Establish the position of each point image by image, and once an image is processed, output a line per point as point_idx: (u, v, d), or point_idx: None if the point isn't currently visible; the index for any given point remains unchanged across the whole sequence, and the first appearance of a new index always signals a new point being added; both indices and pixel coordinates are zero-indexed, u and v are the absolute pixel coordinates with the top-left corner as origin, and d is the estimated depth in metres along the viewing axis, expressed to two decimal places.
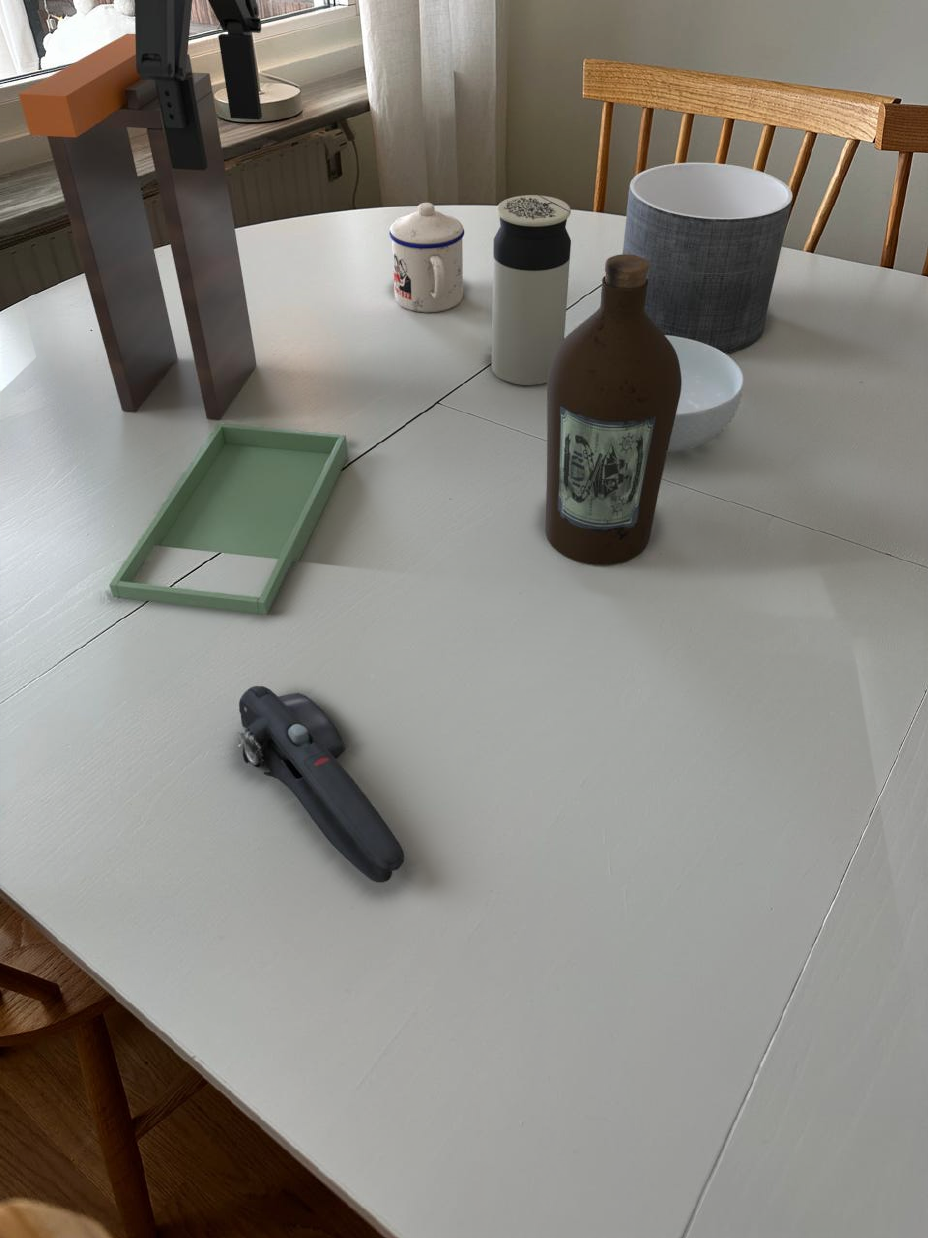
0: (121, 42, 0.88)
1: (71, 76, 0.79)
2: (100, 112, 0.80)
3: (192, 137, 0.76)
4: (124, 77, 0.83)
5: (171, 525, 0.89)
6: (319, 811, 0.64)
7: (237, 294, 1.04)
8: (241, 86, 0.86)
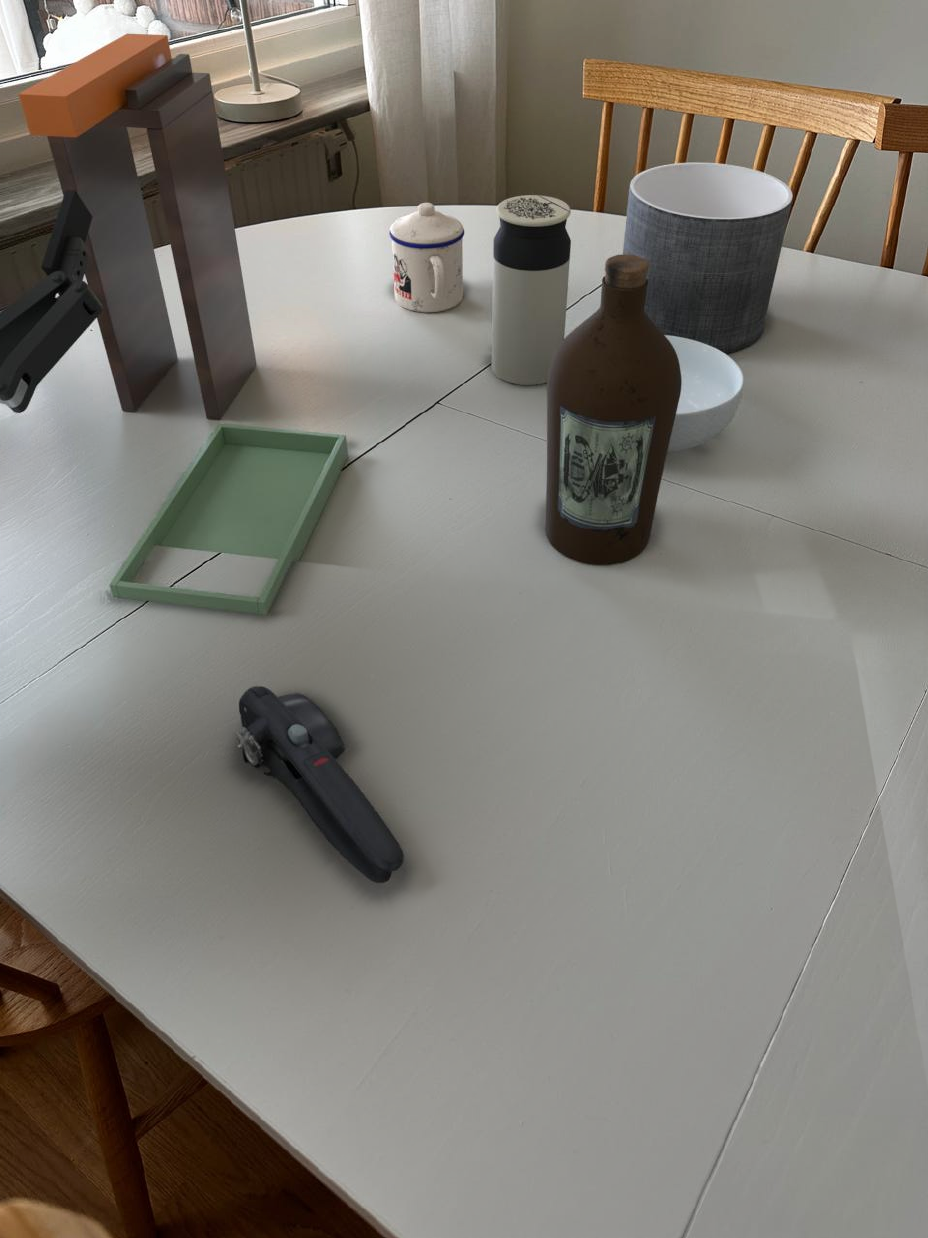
0: (121, 42, 0.88)
1: (71, 76, 0.79)
2: (100, 112, 0.80)
3: None
4: (124, 77, 0.83)
5: (171, 525, 0.89)
6: (319, 811, 0.64)
7: (237, 294, 1.04)
8: None
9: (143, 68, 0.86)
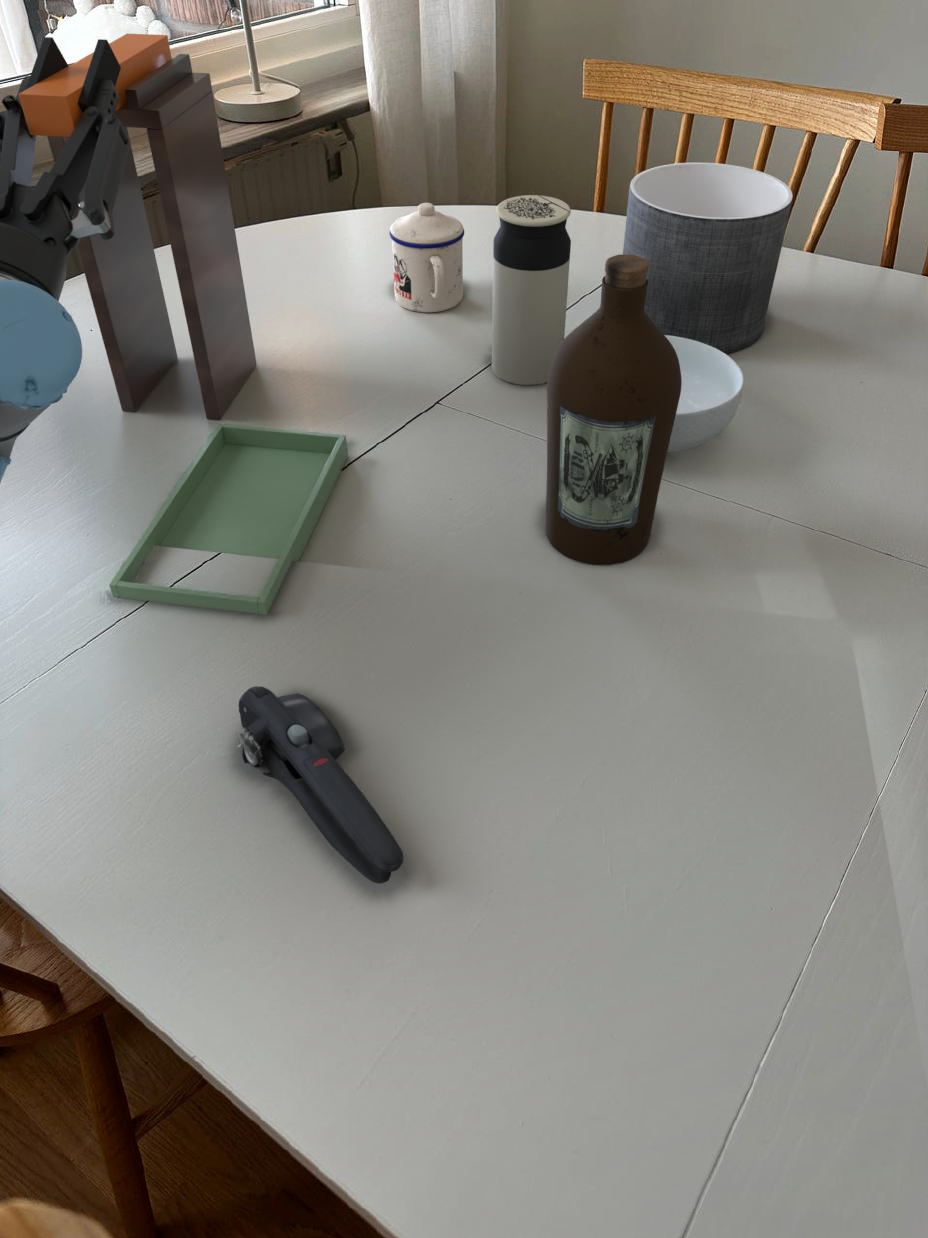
0: (121, 42, 0.88)
1: (71, 76, 0.79)
2: None
3: None
4: (124, 77, 0.83)
5: (171, 525, 0.89)
6: (318, 812, 0.64)
7: (237, 294, 1.04)
8: None
9: (143, 68, 0.86)
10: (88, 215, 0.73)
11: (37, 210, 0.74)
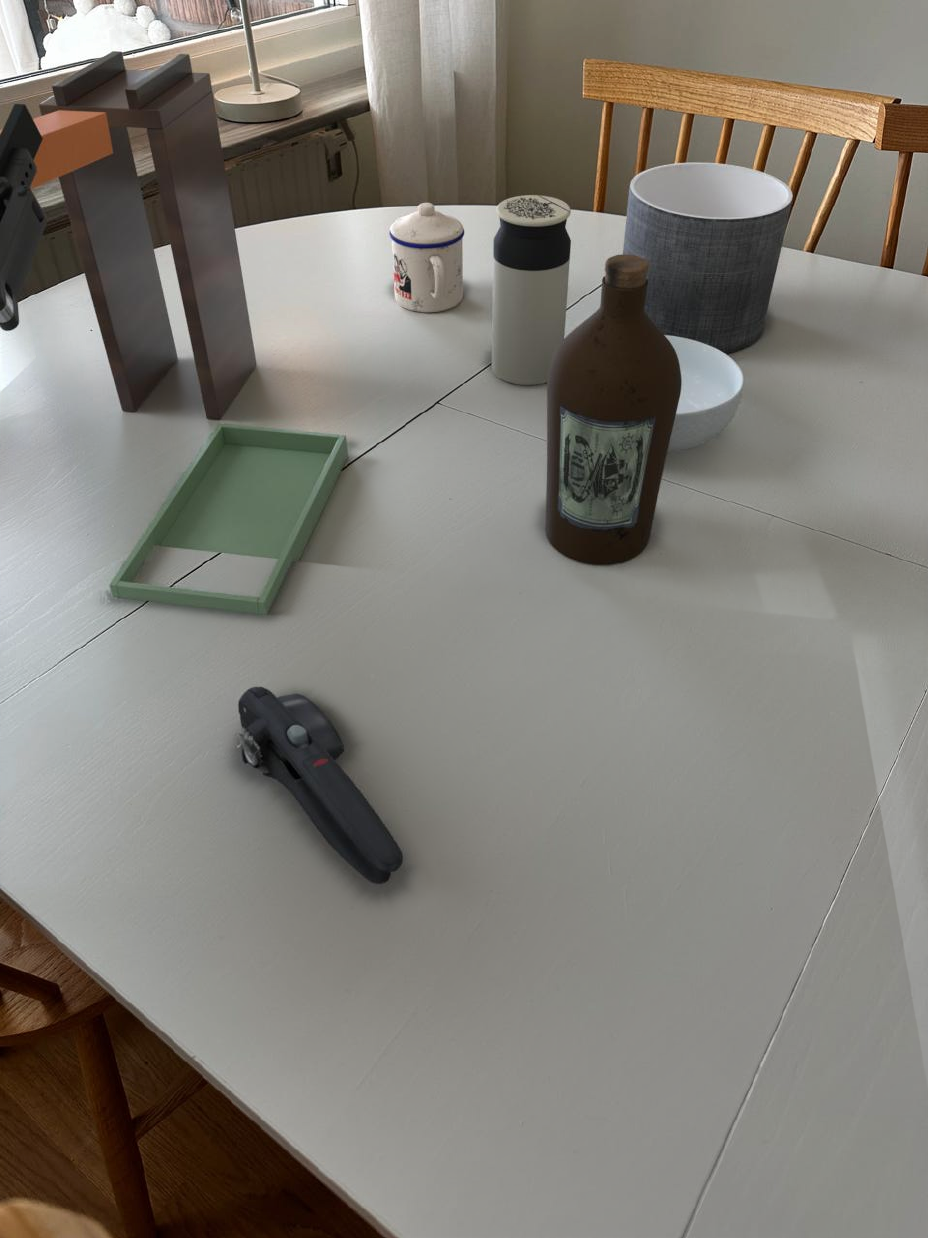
0: (50, 117, 0.76)
1: None
2: None
3: None
4: (48, 151, 0.71)
5: (171, 525, 0.89)
6: (318, 812, 0.63)
7: (237, 294, 1.04)
8: None
9: (73, 145, 0.74)
10: None
11: None
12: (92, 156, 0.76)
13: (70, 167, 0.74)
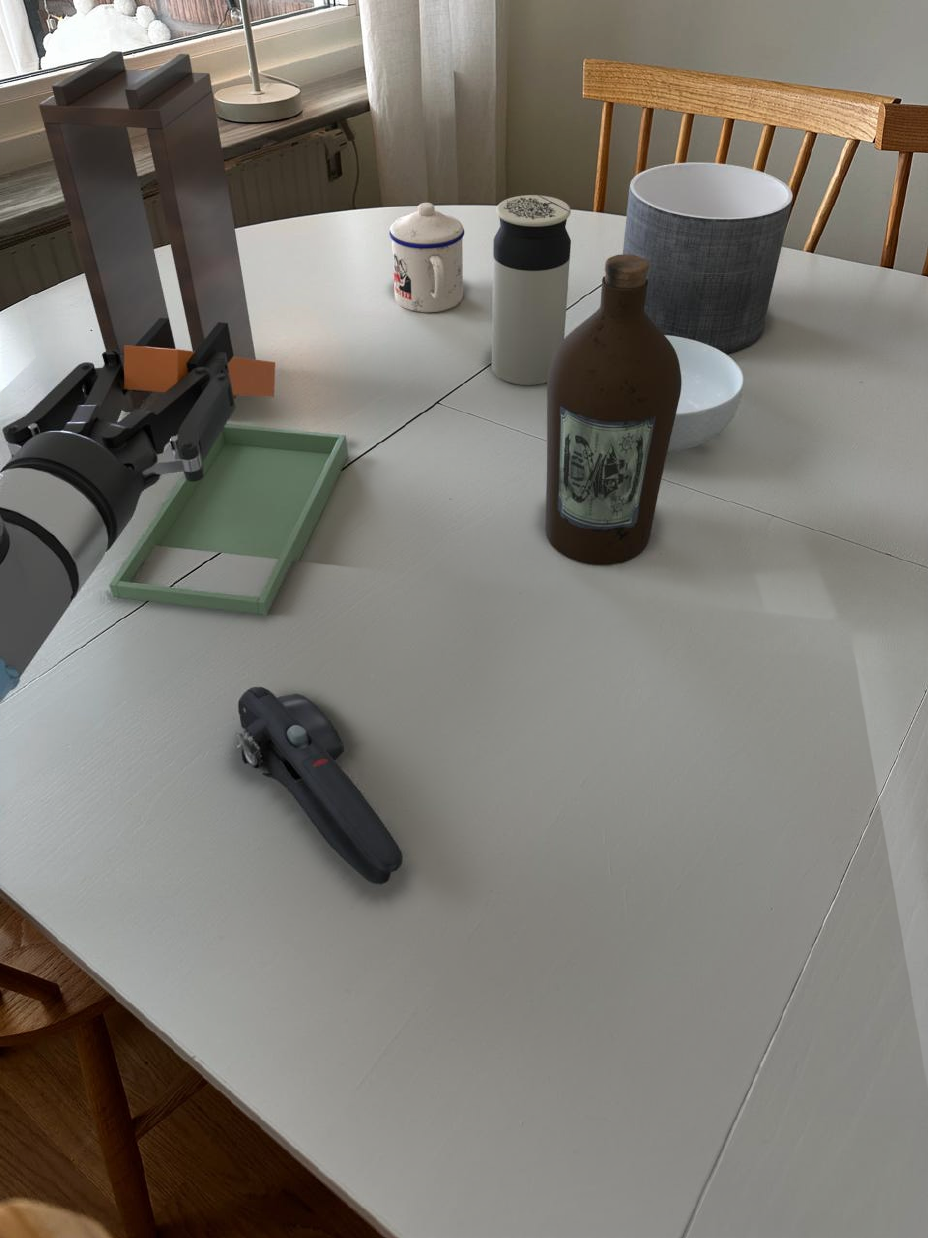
0: None
1: None
2: None
3: None
4: (232, 370, 0.78)
5: (171, 525, 0.89)
6: (318, 812, 0.63)
7: (237, 294, 1.04)
8: None
9: (249, 375, 0.81)
10: (180, 447, 0.61)
11: (120, 438, 0.62)
12: (259, 391, 0.84)
13: (244, 391, 0.81)
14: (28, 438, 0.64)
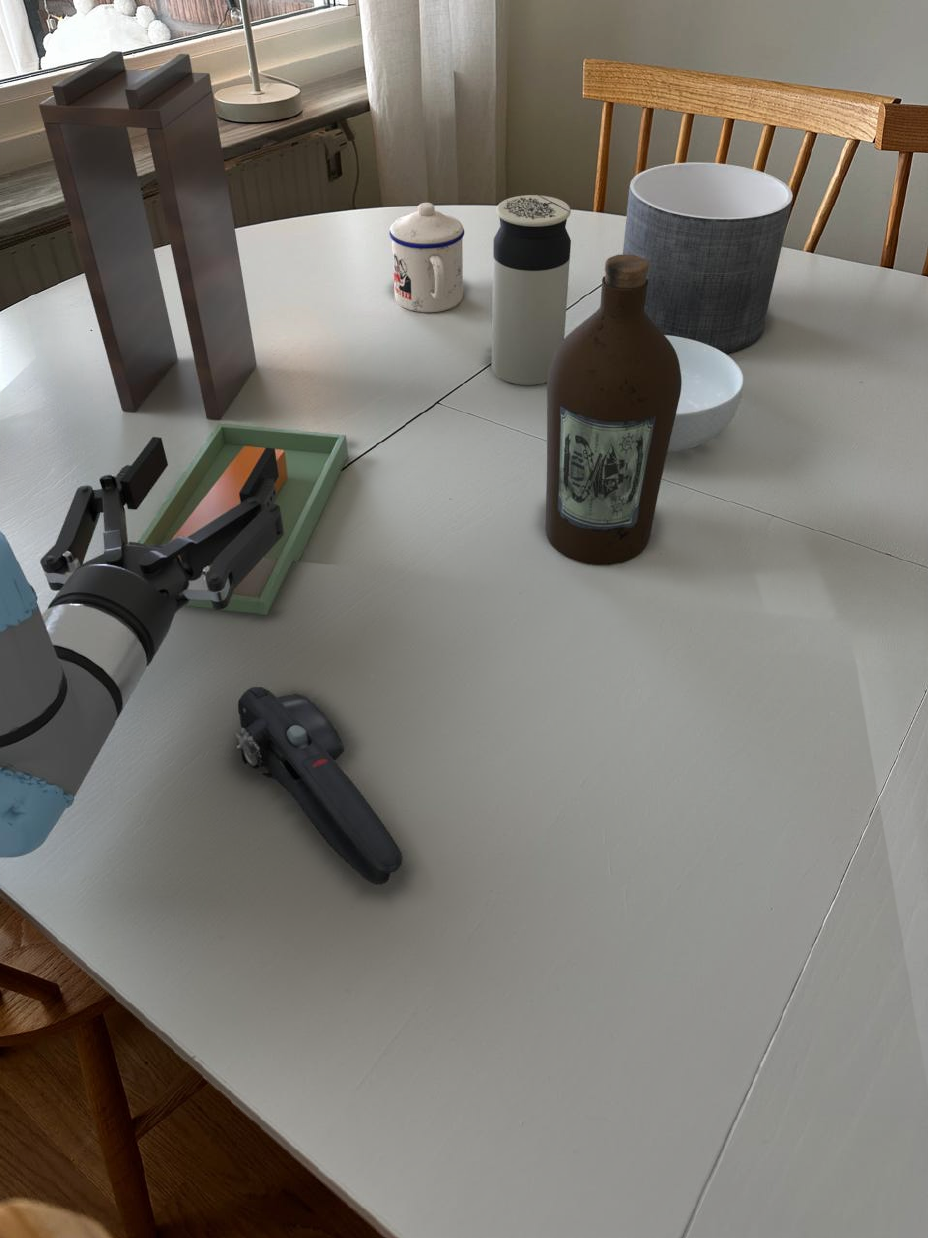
0: (242, 462, 0.90)
1: (203, 526, 0.81)
2: None
3: None
4: None
5: (171, 525, 0.89)
6: (317, 812, 0.63)
7: (237, 294, 1.04)
8: None
9: None
10: (207, 580, 0.68)
11: (154, 566, 0.69)
12: None
13: None
14: (64, 565, 0.70)
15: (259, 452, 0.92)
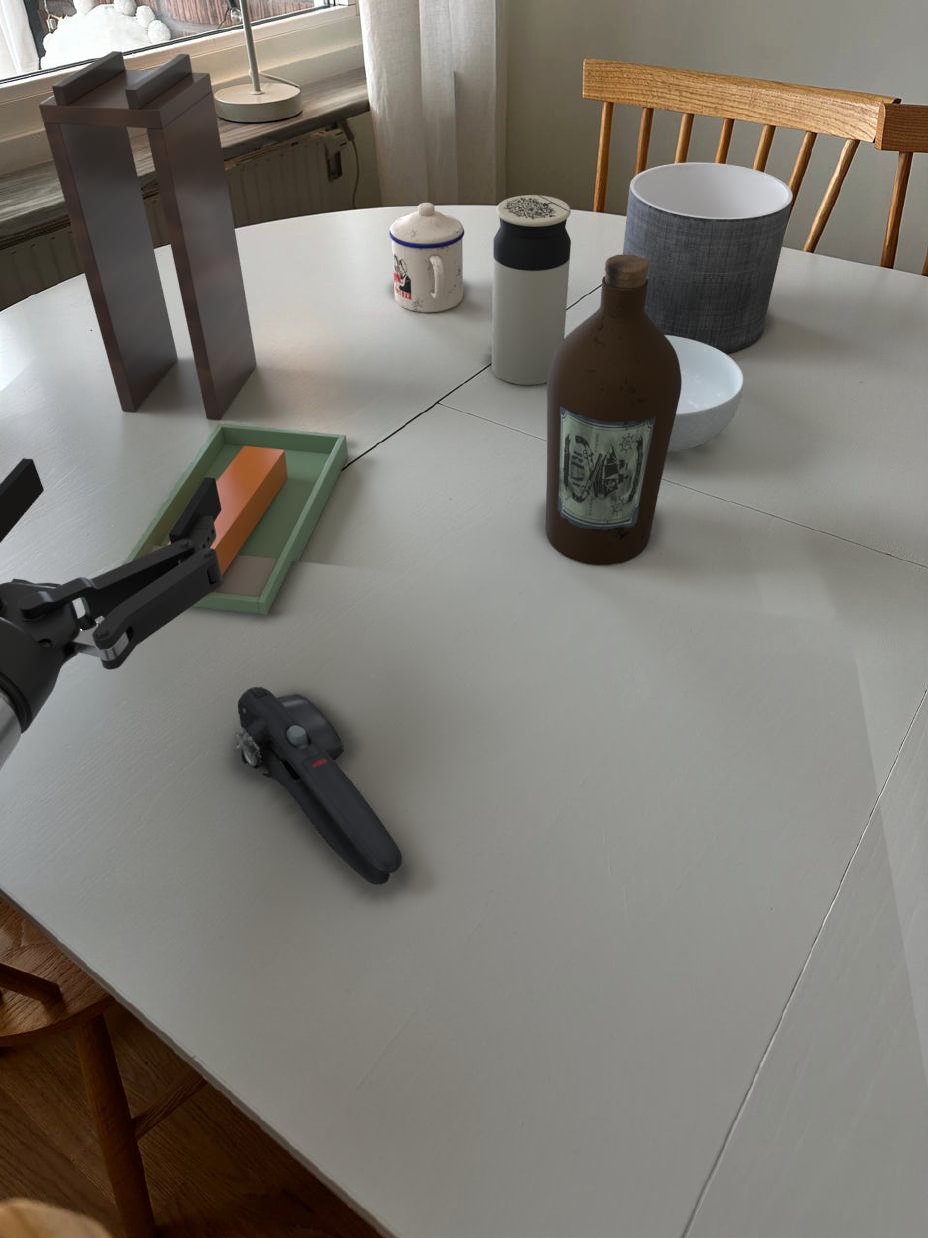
0: (242, 462, 0.90)
1: None
2: (228, 558, 0.82)
3: None
4: (249, 512, 0.85)
5: (171, 525, 0.89)
6: (317, 813, 0.63)
7: (237, 294, 1.04)
8: None
9: (264, 494, 0.88)
10: (94, 634, 0.57)
11: (36, 611, 0.57)
12: (275, 492, 0.91)
13: (262, 513, 0.88)
14: None
15: (259, 452, 0.92)
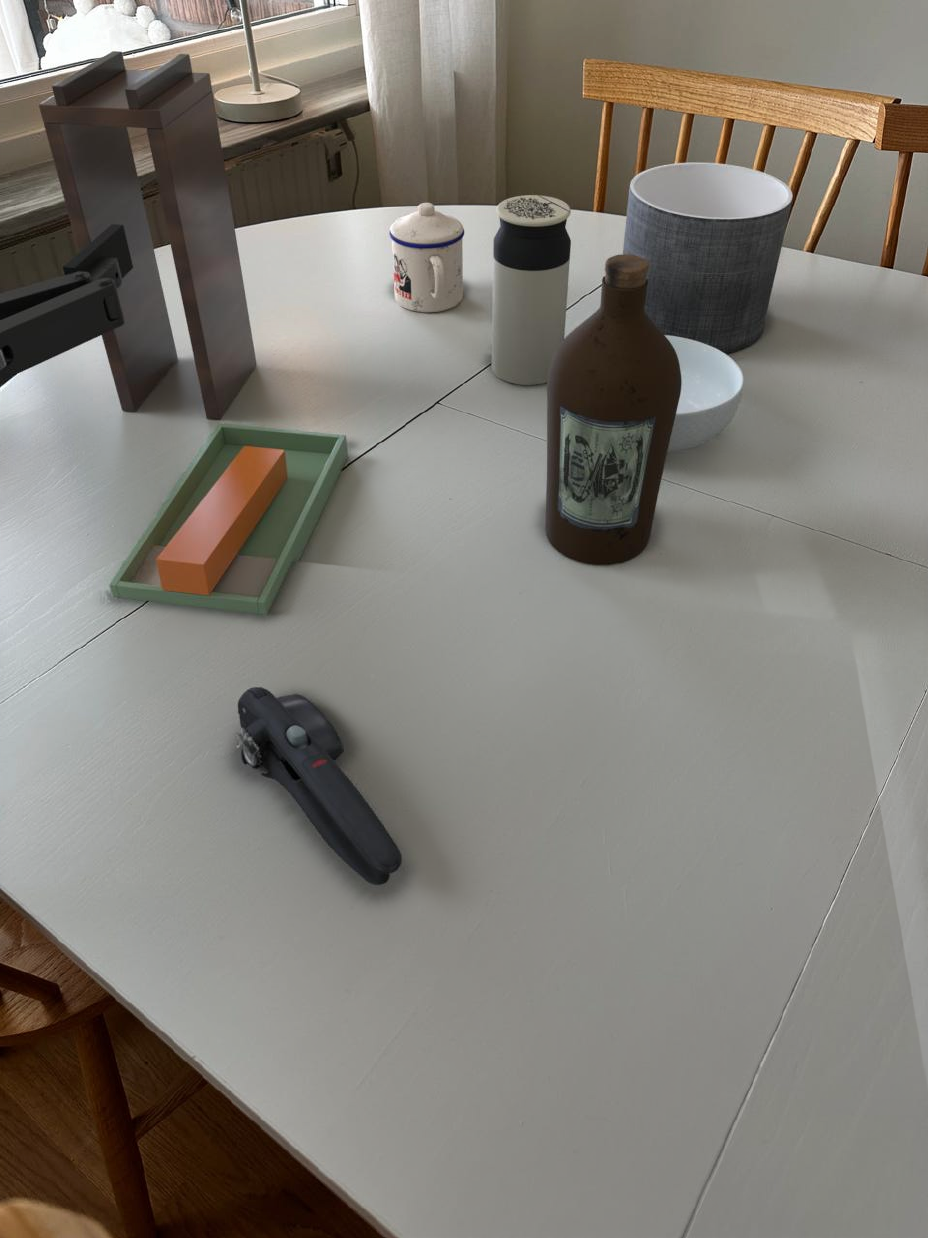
0: (242, 462, 0.90)
1: (203, 526, 0.81)
2: (228, 558, 0.82)
3: None
4: (249, 512, 0.85)
5: (171, 525, 0.89)
6: (317, 813, 0.63)
7: (237, 294, 1.04)
8: None
9: (264, 494, 0.88)
10: None
11: None
12: (275, 492, 0.91)
13: (262, 513, 0.88)
14: None
15: (259, 452, 0.92)
